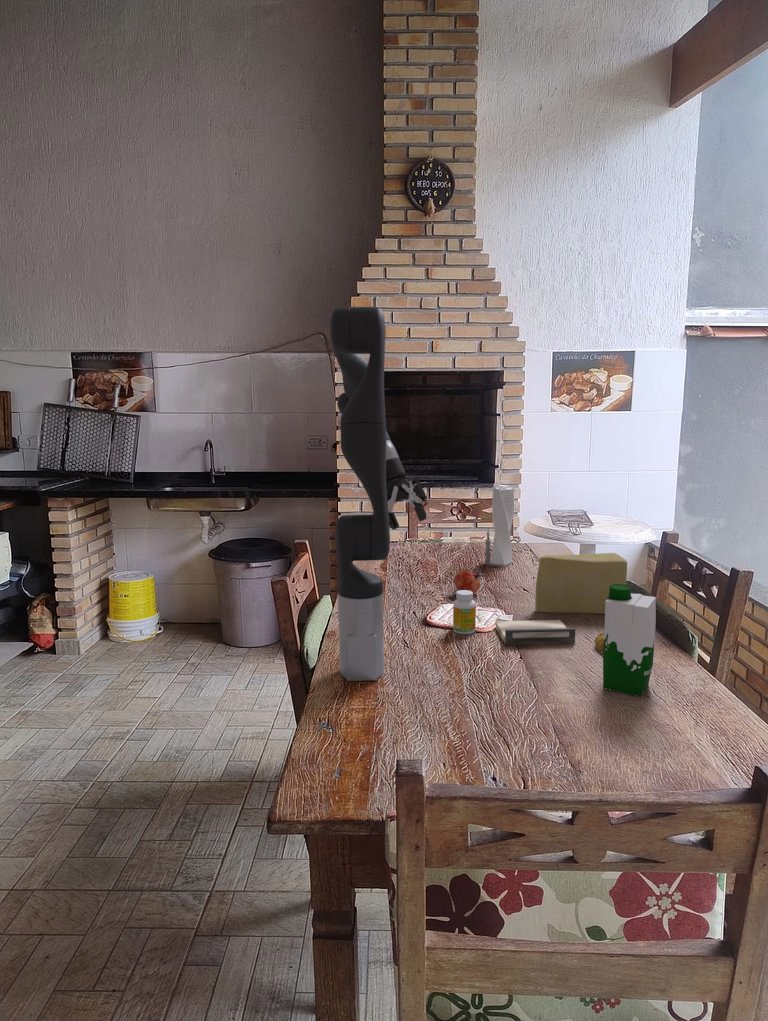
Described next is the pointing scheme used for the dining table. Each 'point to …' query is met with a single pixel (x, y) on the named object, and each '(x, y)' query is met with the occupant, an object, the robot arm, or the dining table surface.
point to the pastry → (600, 642)
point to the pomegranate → (467, 581)
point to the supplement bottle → (464, 612)
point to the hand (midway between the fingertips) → (409, 524)
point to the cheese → (577, 582)
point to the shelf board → (535, 632)
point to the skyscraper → (501, 526)
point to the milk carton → (628, 640)
